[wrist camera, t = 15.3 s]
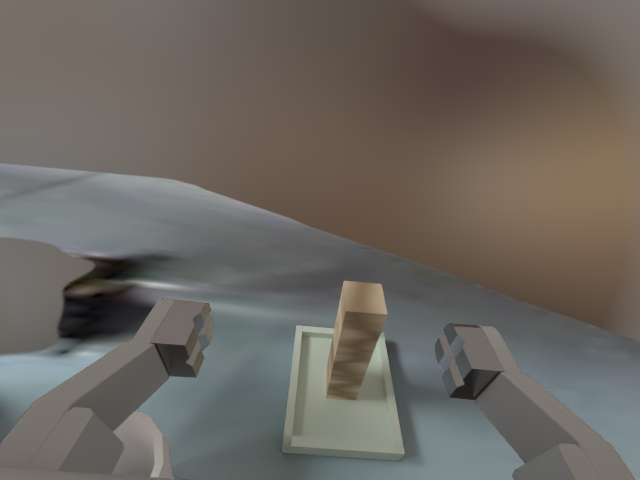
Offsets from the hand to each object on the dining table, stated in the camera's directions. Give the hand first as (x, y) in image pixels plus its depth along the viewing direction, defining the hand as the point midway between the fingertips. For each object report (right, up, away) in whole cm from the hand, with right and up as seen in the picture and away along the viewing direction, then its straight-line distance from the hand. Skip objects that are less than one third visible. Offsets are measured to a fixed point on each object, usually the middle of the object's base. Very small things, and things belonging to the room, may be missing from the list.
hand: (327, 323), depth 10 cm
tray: (+2, -18, +30) cm, 35 cm away
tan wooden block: (+3, -17, +29) cm, 34 cm away
